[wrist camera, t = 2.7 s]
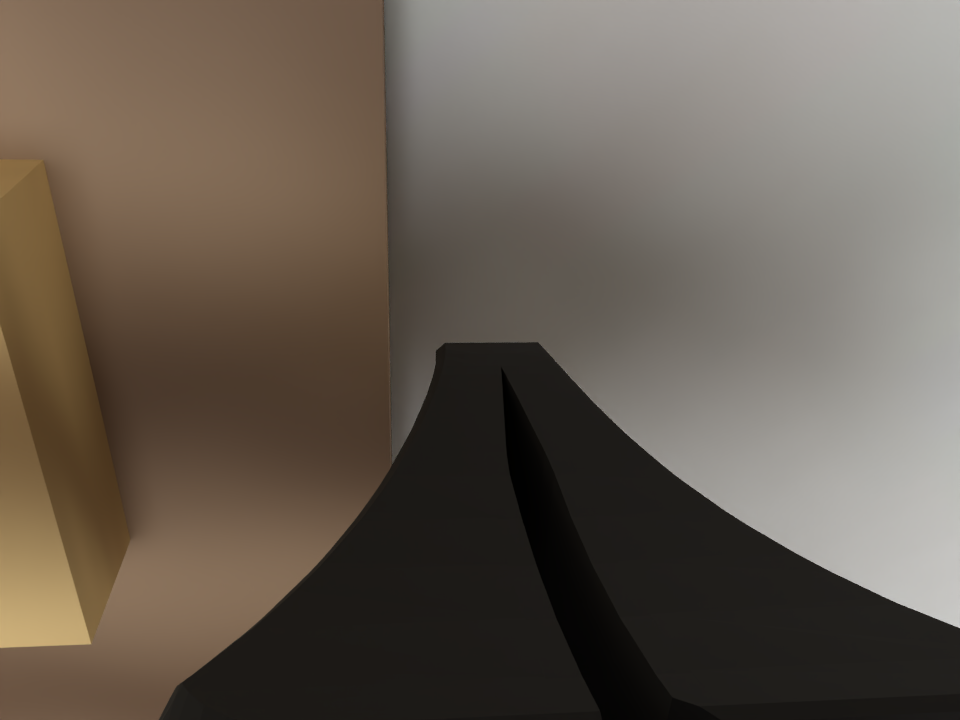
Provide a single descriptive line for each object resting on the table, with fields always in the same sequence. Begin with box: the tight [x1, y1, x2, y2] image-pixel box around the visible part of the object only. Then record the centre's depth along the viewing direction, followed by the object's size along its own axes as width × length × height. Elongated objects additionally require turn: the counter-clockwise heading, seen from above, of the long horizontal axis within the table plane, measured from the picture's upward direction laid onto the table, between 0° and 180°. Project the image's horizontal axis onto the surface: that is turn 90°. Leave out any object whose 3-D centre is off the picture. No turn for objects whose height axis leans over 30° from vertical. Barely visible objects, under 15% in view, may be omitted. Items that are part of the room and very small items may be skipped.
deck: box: [0, 0, 392, 720], centre depth 13 cm, size 20×10×2 cm, turn 178°
